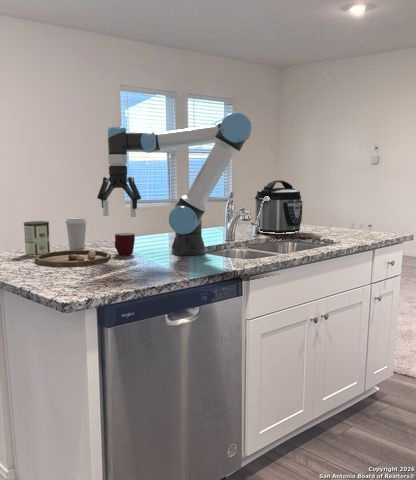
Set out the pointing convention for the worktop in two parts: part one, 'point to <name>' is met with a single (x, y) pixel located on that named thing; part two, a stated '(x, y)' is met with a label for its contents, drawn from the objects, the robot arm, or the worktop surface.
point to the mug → (124, 243)
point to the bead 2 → (91, 256)
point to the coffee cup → (76, 232)
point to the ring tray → (71, 258)
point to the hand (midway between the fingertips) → (119, 216)
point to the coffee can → (36, 237)
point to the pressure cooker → (279, 208)
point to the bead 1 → (80, 258)
